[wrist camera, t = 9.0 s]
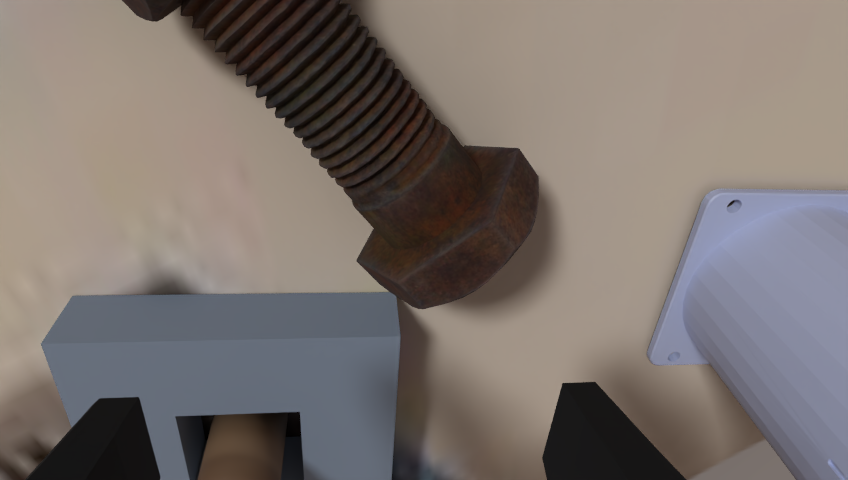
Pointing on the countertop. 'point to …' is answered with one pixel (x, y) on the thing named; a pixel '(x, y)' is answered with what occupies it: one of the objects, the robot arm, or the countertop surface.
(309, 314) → the hole block
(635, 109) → the countertop surface
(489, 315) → the countertop surface
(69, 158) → the countertop surface
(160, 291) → the countertop surface
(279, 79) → the bolt
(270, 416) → the long walnut pin
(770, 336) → the robot arm
